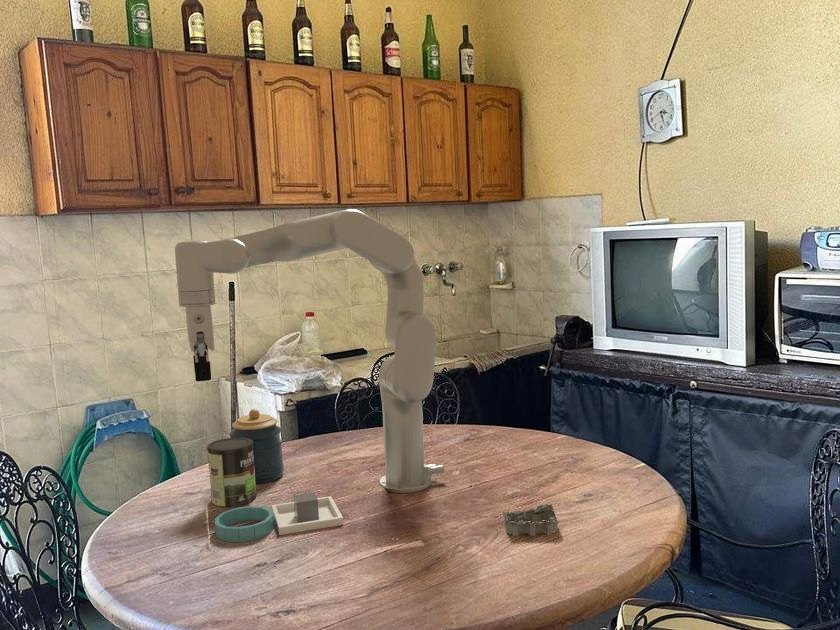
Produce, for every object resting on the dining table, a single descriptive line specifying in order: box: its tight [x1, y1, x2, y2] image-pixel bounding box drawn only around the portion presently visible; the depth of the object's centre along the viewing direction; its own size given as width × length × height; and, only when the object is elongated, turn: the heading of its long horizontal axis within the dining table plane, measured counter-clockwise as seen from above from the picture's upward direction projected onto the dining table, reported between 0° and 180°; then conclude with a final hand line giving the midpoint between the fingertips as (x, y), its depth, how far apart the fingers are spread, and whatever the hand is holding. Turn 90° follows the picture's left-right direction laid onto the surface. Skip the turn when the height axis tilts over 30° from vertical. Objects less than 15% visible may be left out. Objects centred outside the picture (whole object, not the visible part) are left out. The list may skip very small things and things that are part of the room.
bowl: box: [214, 505, 275, 543], centre depth 150 cm, size 12×12×4 cm
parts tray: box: [271, 495, 344, 536], centre depth 155 cm, size 13×13×2 cm
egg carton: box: [502, 503, 559, 537], centre depth 147 cm, size 11×8×4 cm
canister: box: [228, 408, 285, 485], centre depth 184 cm, size 13×13×18 cm
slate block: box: [293, 492, 319, 523], centre depth 155 cm, size 4×4×4 cm
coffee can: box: [206, 437, 257, 508], centre depth 167 cm, size 10×10×14 cm
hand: (202, 376), depth 158 cm, fingers open, 9 cm apart
